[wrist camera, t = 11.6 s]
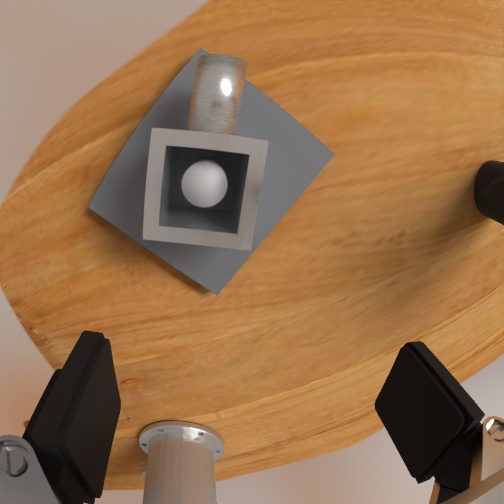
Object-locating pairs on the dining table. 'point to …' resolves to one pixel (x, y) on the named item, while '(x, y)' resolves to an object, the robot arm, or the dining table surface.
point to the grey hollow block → (214, 138)
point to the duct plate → (275, 187)
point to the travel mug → (490, 190)
